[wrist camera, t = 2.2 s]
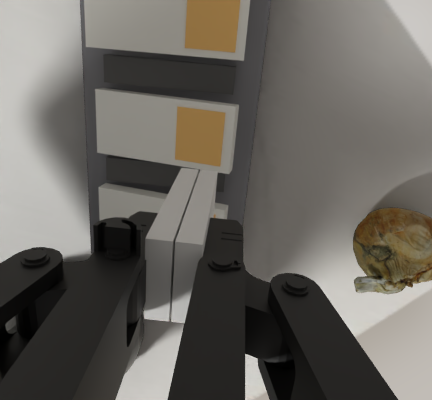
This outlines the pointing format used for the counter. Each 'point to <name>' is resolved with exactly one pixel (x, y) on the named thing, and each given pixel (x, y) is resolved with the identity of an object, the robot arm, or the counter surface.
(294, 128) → the counter surface
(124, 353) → the robot arm
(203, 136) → the block
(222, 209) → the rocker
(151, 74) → the rocker switch panel
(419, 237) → the onion
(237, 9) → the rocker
